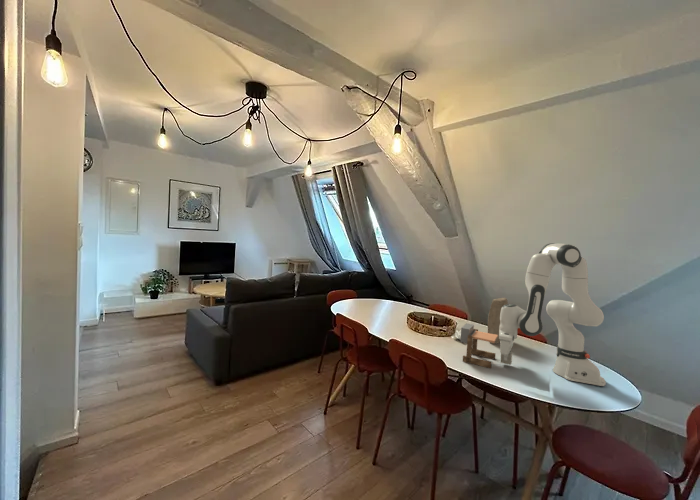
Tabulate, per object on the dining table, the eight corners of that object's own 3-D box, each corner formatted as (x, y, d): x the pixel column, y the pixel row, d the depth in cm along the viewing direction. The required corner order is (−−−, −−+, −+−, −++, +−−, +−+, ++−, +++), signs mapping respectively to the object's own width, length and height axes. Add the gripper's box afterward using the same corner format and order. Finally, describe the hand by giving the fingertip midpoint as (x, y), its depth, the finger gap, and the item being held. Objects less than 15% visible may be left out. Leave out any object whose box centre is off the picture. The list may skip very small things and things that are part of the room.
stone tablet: (494, 346, 203) (497, 300, 202) (482, 342, 209) (485, 298, 208) (507, 340, 216) (510, 298, 215) (495, 337, 222) (498, 296, 221)
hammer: (460, 341, 176) (461, 328, 176) (465, 336, 188) (466, 323, 188) (493, 349, 167) (494, 334, 166) (497, 342, 178) (498, 328, 178)
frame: (462, 361, 173) (464, 334, 173) (469, 352, 189) (470, 328, 188) (490, 368, 166) (492, 340, 165) (495, 358, 181) (497, 333, 180)
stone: (511, 361, 171) (512, 351, 171) (510, 364, 167) (511, 353, 167) (502, 359, 174) (502, 349, 174) (500, 362, 170) (501, 351, 170)
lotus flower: (450, 343, 205) (451, 330, 205) (451, 336, 219) (451, 324, 219) (473, 346, 200) (474, 333, 200) (472, 339, 215) (473, 327, 214)
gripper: (504, 328, 180) (503, 351, 181) (498, 336, 164) (497, 362, 164) (516, 330, 177) (515, 354, 177) (511, 339, 160) (510, 365, 161)
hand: (506, 358), depth 171 cm, fingers closed on stone, 5 cm apart
